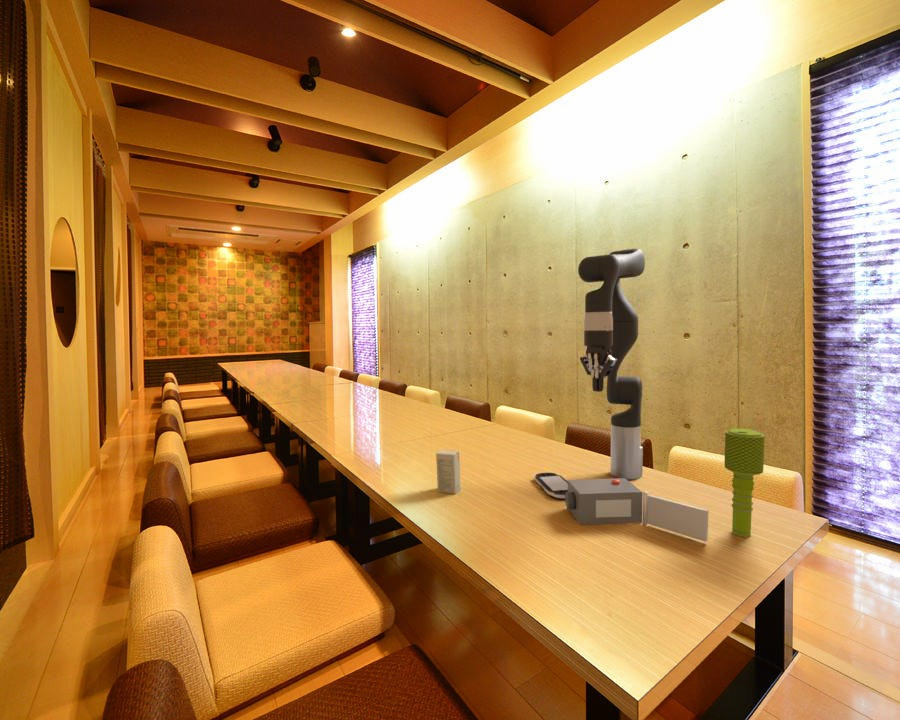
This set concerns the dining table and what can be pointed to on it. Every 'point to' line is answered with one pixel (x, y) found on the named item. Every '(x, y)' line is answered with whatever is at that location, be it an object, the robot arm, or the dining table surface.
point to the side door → (675, 516)
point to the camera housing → (604, 501)
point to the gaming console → (553, 484)
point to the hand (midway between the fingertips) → (597, 391)
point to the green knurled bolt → (743, 473)
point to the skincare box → (448, 471)
